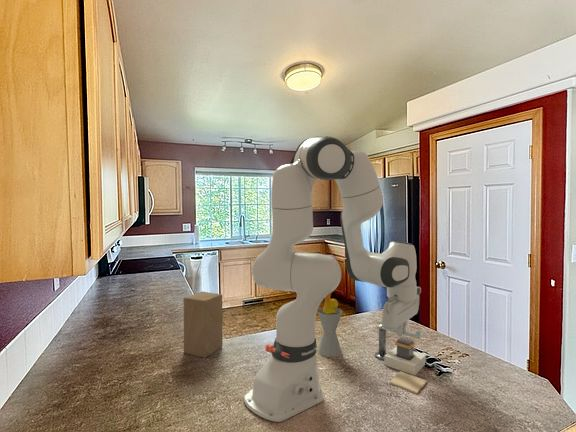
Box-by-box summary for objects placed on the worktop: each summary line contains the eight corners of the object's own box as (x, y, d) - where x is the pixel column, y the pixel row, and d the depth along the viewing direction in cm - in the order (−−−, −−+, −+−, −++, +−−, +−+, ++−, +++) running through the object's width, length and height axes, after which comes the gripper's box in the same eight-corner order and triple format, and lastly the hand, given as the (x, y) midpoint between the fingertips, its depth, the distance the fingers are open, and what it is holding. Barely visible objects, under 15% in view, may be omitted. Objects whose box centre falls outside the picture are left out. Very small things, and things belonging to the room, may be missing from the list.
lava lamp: (325, 359, 106) (325, 257, 106) (312, 348, 114) (312, 254, 114) (347, 354, 110) (347, 256, 109) (333, 344, 118) (333, 253, 118)
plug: (409, 369, 99) (409, 344, 99) (395, 364, 103) (395, 340, 102) (415, 364, 103) (415, 340, 103) (400, 359, 106) (401, 336, 106)
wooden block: (223, 347, 116) (222, 293, 115) (205, 358, 107) (205, 301, 106) (201, 342, 120) (201, 291, 120) (183, 353, 111) (182, 297, 111)
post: (386, 361, 105) (386, 333, 104) (372, 356, 108) (372, 329, 108) (392, 356, 108) (392, 328, 108) (378, 352, 112) (378, 325, 111)
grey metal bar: (376, 328, 108) (376, 321, 108) (380, 325, 110) (380, 319, 110) (419, 339, 98) (419, 332, 98) (422, 336, 100) (422, 329, 100)
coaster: (417, 394, 86) (417, 392, 86) (389, 383, 91) (389, 381, 91) (426, 382, 92) (426, 380, 92) (400, 372, 97) (400, 371, 97)
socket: (414, 375, 96) (415, 365, 96) (384, 364, 102) (384, 355, 102) (425, 363, 103) (425, 354, 103) (396, 354, 110) (396, 346, 110)
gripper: (397, 301, 89) (396, 348, 89) (422, 287, 104) (422, 327, 104) (376, 297, 93) (376, 342, 94) (404, 283, 108) (404, 322, 109)
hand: (401, 334), depth 99 cm, fingers closed
